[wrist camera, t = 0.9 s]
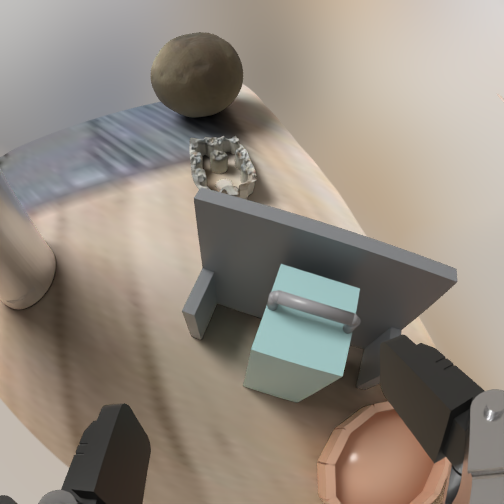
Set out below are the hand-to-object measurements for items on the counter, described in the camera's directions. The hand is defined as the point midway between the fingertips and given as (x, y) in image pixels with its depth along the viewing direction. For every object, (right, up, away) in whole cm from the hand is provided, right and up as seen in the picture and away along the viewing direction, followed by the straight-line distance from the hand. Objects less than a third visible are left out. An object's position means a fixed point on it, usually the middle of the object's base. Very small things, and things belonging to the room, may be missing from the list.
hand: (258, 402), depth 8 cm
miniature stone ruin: (-4, +14, +31) cm, 35 cm away
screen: (+3, -4, +19) cm, 20 cm away
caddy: (+2, -6, +18) cm, 19 cm away
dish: (+12, -15, +12) cm, 23 cm away
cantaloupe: (-9, +27, +40) cm, 49 cm away
